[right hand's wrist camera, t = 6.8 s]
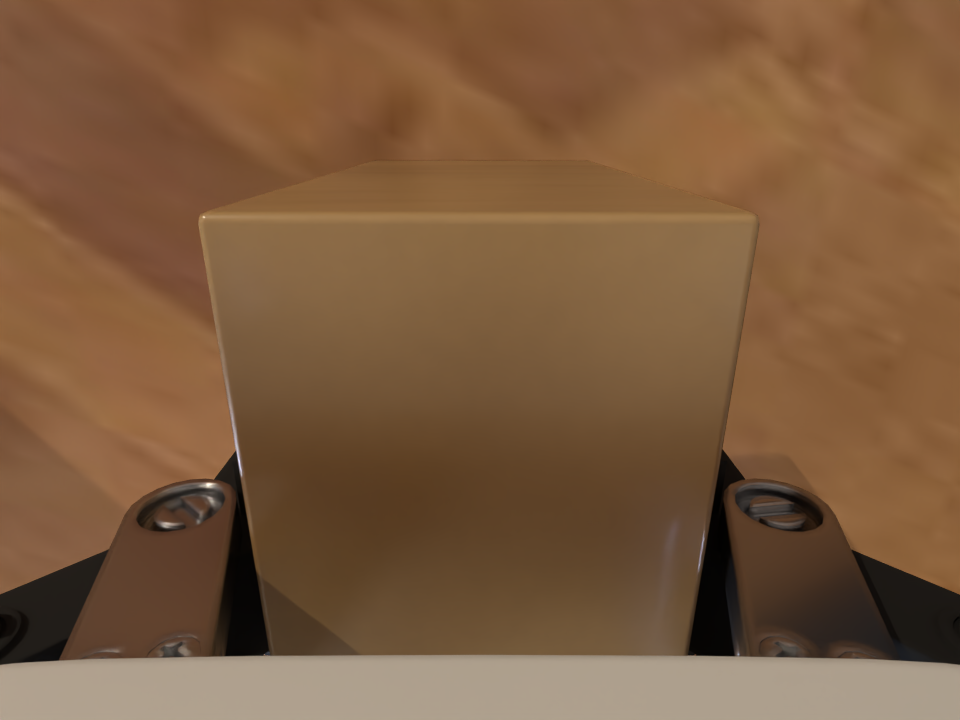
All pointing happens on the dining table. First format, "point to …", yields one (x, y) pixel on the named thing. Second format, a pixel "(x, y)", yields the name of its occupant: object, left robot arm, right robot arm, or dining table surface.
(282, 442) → the post
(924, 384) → the dining table surface
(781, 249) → the dining table surface
